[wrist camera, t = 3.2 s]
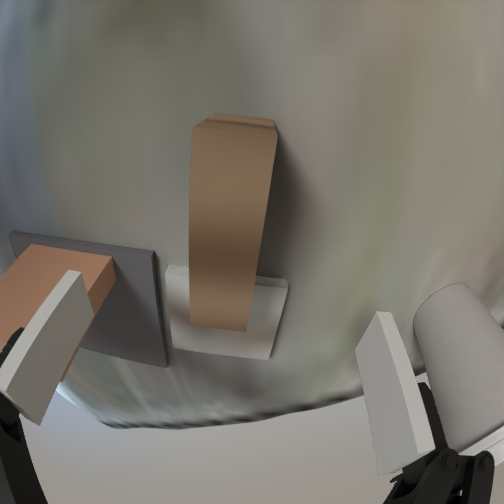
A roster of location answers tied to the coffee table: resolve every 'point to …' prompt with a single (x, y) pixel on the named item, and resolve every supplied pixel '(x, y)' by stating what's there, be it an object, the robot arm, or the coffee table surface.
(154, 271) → the mat
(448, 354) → the coffee cup
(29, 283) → the tile
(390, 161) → the coffee table surface
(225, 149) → the tapered wooden block
